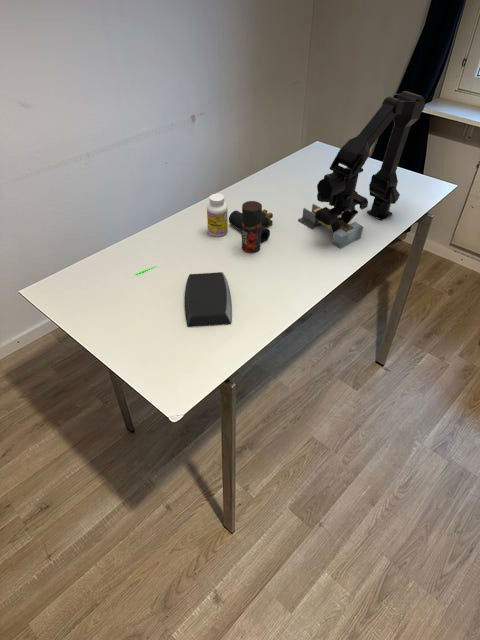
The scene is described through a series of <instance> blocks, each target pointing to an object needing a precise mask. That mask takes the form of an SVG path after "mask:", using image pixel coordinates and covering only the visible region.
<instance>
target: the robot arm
mask: <svg viewBox="0 0 480 640" xmlns="http://www.w3.org/2000/svg"><path fill="white" fill-rule="evenodd" d="M425 107H426V100H425V98H424V96H423V95H419V94H416V93H413V92H410V91H406V90H403V91H401V92H400V93H394V94H391V96H387V97H385V98H384V100H383V101H382V104H381V106H380V107H379V109H378V110H377V111H376V112H375V113H374V115H373V116H372V118H371V119H369V120H368V122H367V124H366V125H365V126H364V127H363V129H362V130H361V131H360V132H359V133H358V134H357V135H356V136H355V137H352V138H351V139H349V140H347V141H346V143H345V144H343V145H342V147H341V148H340V149H338V152H337V154H336V156H335V158H334V159H333V161H332V163H331V164H330V167H329V170H330V171H332V172H331V173H326V174H324V176H323V178H322V179H320V180H319V181H318V183H317V186H316V188H317V195H316V199H317V201H318V202H321V203H328V205H329V206H331V207H332V208H328V207H327V206H325V207H321V208H322V209H320V210H318V211H316V214H315V218H316V219H317V220H319V221H321V222H322V223H324V224H326V225H331V227H332V230H331V231H332V234H334V232H335V231H337V230H338V229H339V227H340V225H341V223H342V221H344V222H346V223H347V224H349V223H350V222H351V221H352V220H353V219H354V217H355V216H356V215H358V213H359V211H358V210H357V209H356V206H357V205H359V207H358V208H359V209H360V210H364V209H366V208H368V206H369V201H368V198H367V197H365V196H362V195H361V194H359V193H358V191H356V188H357V183H358V179H359V175H360V174H361V173H362V172H364V168H363V167H364V165H365V163H366V161H368V158H369V157H370V152H371V149H372V147H373V145H374V144H375V143H376V141H377V140H378V138H379V137H380V136H381V135H382V134H383V132H384V131H385V130H386V129H387V127H388V126H389V125H390V124H391V122H392V121H393V123H394V124H393V127H392V130H391V134H390V136H389V140H388V144H387V146H386V151H385V153H384V157H383V161H382V163H381V167H380V169H379V170H378V171H377V172H376V173H375V174H372V176H371V179H370V183H369V184H368V186H369V188H368V190H369V196H370V197H373V201H372V205H371V209H369V210H367V211H366V213H367V214H368V215H370V216H372V217H374V218H376V219H377V220H379V221H382V220H384V219H386V218H388V217H391V216H392V215H393V212H392V211H390V209H391V205H395V204H396V202H397V201H398V200H399V198H400V196H401V195H400V192H399V191H398V189H397V187H398V183H399V180H398V177H397V169H398V166H399V163H400V160H401V158H402V154H403V151H404V149H405V144H406V142H407V139H408V136H409V132H410V129H411V127H412V125H414V124H415V122H417V121H418V120H419V119H420V117H421V114H422V112H423V111H424V110H425ZM341 165H342V166H341Z"/></svg>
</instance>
